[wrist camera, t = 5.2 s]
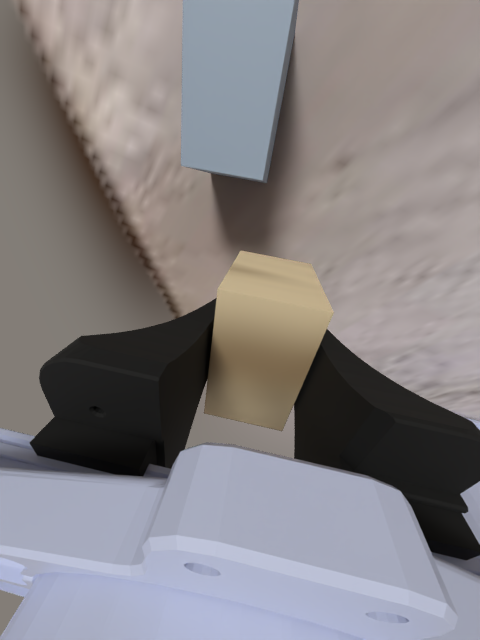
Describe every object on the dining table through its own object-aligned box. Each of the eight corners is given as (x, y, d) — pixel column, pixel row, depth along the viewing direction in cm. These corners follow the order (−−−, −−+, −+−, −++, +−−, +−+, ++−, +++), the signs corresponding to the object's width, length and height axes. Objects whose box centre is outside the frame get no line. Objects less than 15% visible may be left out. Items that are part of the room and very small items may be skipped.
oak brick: (280, 357, 14) (282, 431, 10) (225, 345, 14) (204, 413, 10) (311, 264, 11) (333, 312, 6) (240, 250, 11) (217, 289, 7)
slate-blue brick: (266, 183, 13) (262, 180, 9) (210, 173, 14) (181, 165, 9) (294, 33, 10) (308, -76, 6) (221, 22, 10) (184, -93, 6)
